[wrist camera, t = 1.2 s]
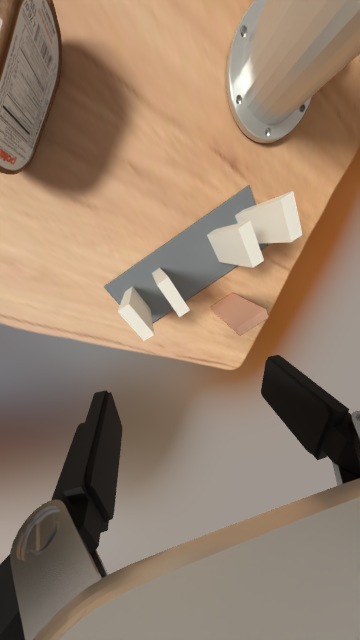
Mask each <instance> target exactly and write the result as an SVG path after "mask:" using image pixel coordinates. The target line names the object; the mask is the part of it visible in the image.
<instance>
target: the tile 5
mask: <svg viewBox="0 0 360 640" xmlns="http://www.w3.org/2000/svg"><path fill="white" fill-rule="evenodd" d="M235 217H236V220H237V222H238V223H242V222H246V221H251V224H252V227H253V229H254V232H255V235H256V238H257V241H258V244H260V243H284V242H292V241H294V240H295V239H297V238H298V237H300V236H301V235H302V230H301V226H300V221H299V216H298V212H297V207H296V202H295V198H294V193H293V191H292V192H289V193H286V194H284V195H281V196H278V197H276V198H273V199H270V200H268V201H265V202H262V203H260V204H257V205H254V206H252V207H249V208H246V209H244V210H242V211H241V212H239V213H238V214H236V215H235Z"/></svg>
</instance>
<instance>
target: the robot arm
mask: <svg viewBox="0 0 360 640" xmlns="http://www.w3.org/2000/svg"><path fill="white" fill-rule="evenodd" d="M359 54H360V0H255V1H254V2H253V3H252V4H251V5H250V6H249V8H248V9H247V11H246V12H245V14H244V15H243V17H242V19H241V21H240V23H239V26H238V28H237V30H236V32H235V35H234V38H233V40H232V43H231V47H230V51H229V55H228V61H227V70H226V88H227V95H228V101H229V105H230V109H231V112H232V115H233V117H234V119H235V122H236V123H237V125H238V126H239V128H240V129H241V131H242V132H243V133H244V134H245V135H246V136H247V137H249V138H250V139H252V140H253V141H256V142H259V143H271V142H275V141H277V140H279V139H281V138H283V137H284V136H285V135H287V134H288V133H289V132H290V131H292V129H293V128H294V127H295V126H296V125H297V124H298V123H299V121H300V120H301V119H302V117H303V116H304V114H305V112H306V110H307V108H308V106H309V104H310V101H311V98H312V96H313V95H314V94H315V93H316V92H317V91H318V90H319V89H321V88H322V87H323V86H324V85H325V84H326V83H327V82H328V81H330V80H331V79H332V78H333V77H334V76H335V75H336V74H337V73H338V72H340V71H341V70H342V69H343V68H344V67H345V66H346V65H347V64H349V63H350V62H351V61H352V60H353V59H354V58H355V57H356V56H358V55H359ZM261 394H262V396H263V397H264V399H265V400H266V401H267V402H268V404H269V405H270V406H271V407H272V408H273V410H274V411H275V412H276V413H277V415H278V416H279V417H280V418H281V420H282V421H283V422H284V423H285V424H286V426H287V427H288V428H289V429H290V431H291V432H292V433H293V434H294V435H295V437H296V438H297V439H298V440H299V442H300V443H301V444H302V445H303V446H304V448H305V449H306V450H307V451H308V452H309V453H311V454H313V455H314V457H315V458H316V459H317V460H319V459H322V458H325V457H327V456H328V457H329V458H330V459H331V460H332V463H333V468H334V472H335V476H336V481H337V485H338V486H336V487H333V488H331V489H328V490H325V491H322V492H320V493H317V494H314V495H311V496H309V497H306V498H303V499H301V500H298V501H295V502H292V503H290V504H287V505H284V506H282V507H279V508H276V509H273V510H271V511H268V512H265V513H263V514H260V515H257V516H255V517H252V518H249V519H247V520H244V521H241V522H238V523H236V524H233V525H230V526H228V527H225V528H223V529H220V530H217V531H215V532H212V533H209V534H207V535H204V536H201V537H199V538H196V539H194V540H191V541H188V542H185V543H183V544H180V545H178V546H175V547H172V548H170V549H167V550H165V551H163V552H160V553H157V554H155V555H153V556H150V557H148V558H145V559H143V560H140V561H138V562H135V563H133V564H130V565H128V566H126V567H124V568H122V569H120V570H118V571H116V572H114V573H112V574H109V575H108V573H107V570H106V569H105V566H104V565H103V563H102V560H101V559H100V557H99V555H98V553H97V551H96V549H97V547H98V546H99V539H100V538H99V537H100V533H101V532H104V531H107V530H108V523H109V520H111V519H112V518H113V515H114V506H115V496H116V486H117V477H118V467H119V458H120V447H121V438H122V425H121V421H120V418H119V415H118V412H117V409H116V406H115V403H114V400H113V396H112V394H111V393H108V392H107V391H102V392H97V393H95V394H94V396H93V400H92V403H91V406H90V409H89V412H88V415H87V418H86V421H85V423H81V424H80V425H79V426H78V427H77V430H76V433H75V435H74V438H73V441H72V444H71V446H70V449H69V452H68V455H67V458H66V461H65V463H64V466H63V469H62V472H61V475H60V477H59V480H58V483H57V486H56V489H55V491H54V494H53V497H52V500H51V501H48V502H47V503H44V504H42V505H41V506H40V507H38V508H37V509H36V510H35V511H34V512H33V513H32V514H31V515H30V516H29V517H28V518H27V519H26V521H25V522H24V523H23V525H22V526H21V528H20V529H19V531H18V533H17V535H16V537H15V539H14V541H13V544H12V548H11V552H10V555H9V556H8V557H7V558H6V559H5V560H4V561H3V562H2V563H1V564H0V640H360V411H355V412H353V413H352V415H351V414H350V413H349V412H348V411H349V409H348V408H347V407H345V406H344V405H343V404H342V403H340V402H339V401H338V400H336V399H335V398H334V397H333V396H331V395H330V394H329V393H327V392H326V391H325V390H324V389H322V388H321V387H319V386H318V385H317V384H316V383H315V382H313V381H312V380H311V379H309V378H308V377H307V376H306V375H304V374H303V373H302V372H300V371H299V370H298V369H296V368H295V367H294V366H292V365H291V364H290V363H289V362H287V361H286V360H285V359H284V358H282V357H281V356H279V355H276V356H271V357H268V359H267V360H266V364H265V371H264V376H263V383H262V388H261Z"/></svg>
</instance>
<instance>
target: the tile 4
mask: <svg viewBox="0 0 360 640" xmlns="http://www.w3.org/2000/svg"><path fill="white" fill-rule="evenodd" d="M207 237H208V239H209V241H210V243H211V245H212V247H213V249H214V252H215V254H216V256H217V258H218V260H219V262H222V263H228V264H234V265H240V266H245V267H251V268H254V267H255V266H257V265H258V264H260V263H261V262H263V261H264V259H263V256H262V253H261V250H260V247H259V244H258V241H257V238H256V235H255V232H254V229H253V227H252V224H251V221H246V222H242V223H238V224H234V225H230V226H226V227H222V228H218V229H215V230H213V231H212V232H210V233H209V234H207Z"/></svg>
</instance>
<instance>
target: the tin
mask: <svg viewBox="0 0 360 640" xmlns="http://www.w3.org/2000/svg"><path fill="white" fill-rule="evenodd" d="M61 61H62V44H61V33H60V28H59V24H58V20H57V16H56V11H55V8H54V4H53V1H52V0H0V172H1V173H4V174H17V173H19V172H21V171H22V170H23V169H24V168H25V167H26V166H27V165H28V164H29V162H30V161H31V159H32V157H33V154H34V151H35V149H36V146H37V143H38V141H39V138H40V135H41V132H42V130H43V127H44V124H45V121H46V118H47V116H48V113H49V110H50V107H51V104H52V101H53V98H54V95H55V93H56V90H57V86H58V82H59V78H60V71H61Z"/></svg>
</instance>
